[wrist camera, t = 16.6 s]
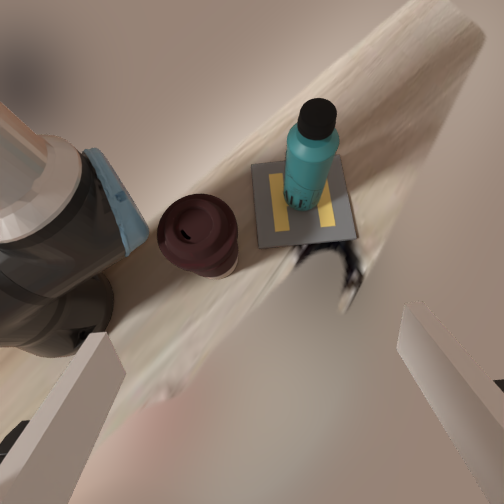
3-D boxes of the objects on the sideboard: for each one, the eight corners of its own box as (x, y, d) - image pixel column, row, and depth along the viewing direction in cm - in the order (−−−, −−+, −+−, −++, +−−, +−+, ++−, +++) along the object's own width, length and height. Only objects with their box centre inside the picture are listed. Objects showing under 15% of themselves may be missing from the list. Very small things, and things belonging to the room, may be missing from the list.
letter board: (258, 248, 47) (258, 247, 47) (251, 166, 52) (251, 164, 51) (355, 239, 47) (356, 237, 46) (338, 156, 51) (339, 154, 51)
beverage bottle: (320, 183, 49) (351, 85, 30) (319, 218, 47) (350, 137, 28) (283, 181, 50) (290, 83, 31) (280, 215, 48) (284, 134, 29)
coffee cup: (240, 226, 49) (227, 179, 34) (251, 281, 46) (241, 256, 31) (184, 237, 49) (148, 195, 34) (191, 293, 46) (154, 273, 32)
